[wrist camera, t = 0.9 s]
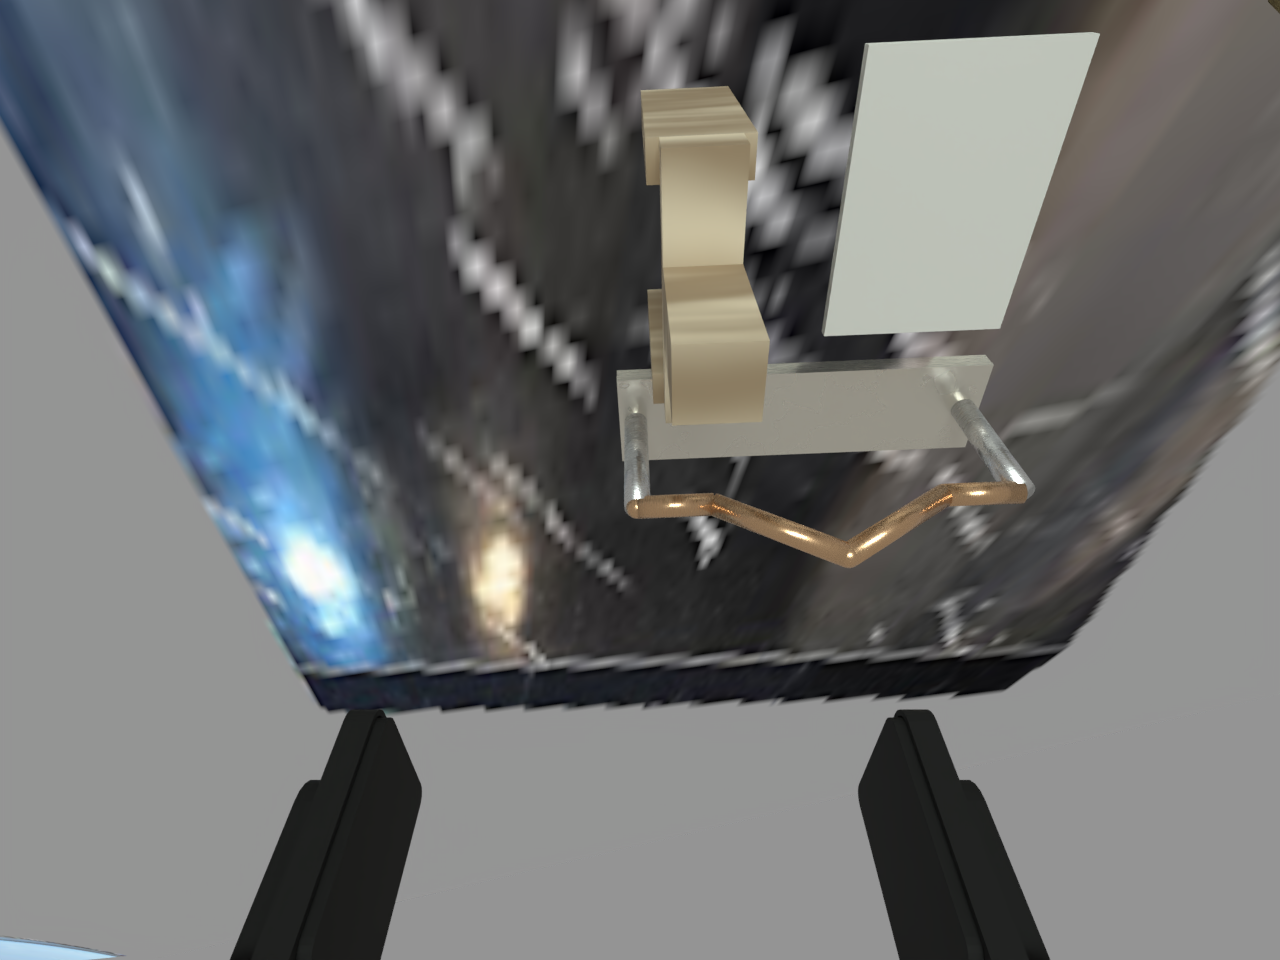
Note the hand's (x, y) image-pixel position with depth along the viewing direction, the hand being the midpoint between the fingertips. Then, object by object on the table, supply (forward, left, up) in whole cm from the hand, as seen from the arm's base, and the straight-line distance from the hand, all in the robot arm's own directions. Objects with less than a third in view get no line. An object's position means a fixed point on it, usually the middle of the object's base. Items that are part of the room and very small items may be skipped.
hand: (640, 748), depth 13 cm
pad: (-1, +16, -28) cm, 32 cm away
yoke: (-1, +3, -28) cm, 28 cm away
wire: (+11, +10, -28) cm, 32 cm away
